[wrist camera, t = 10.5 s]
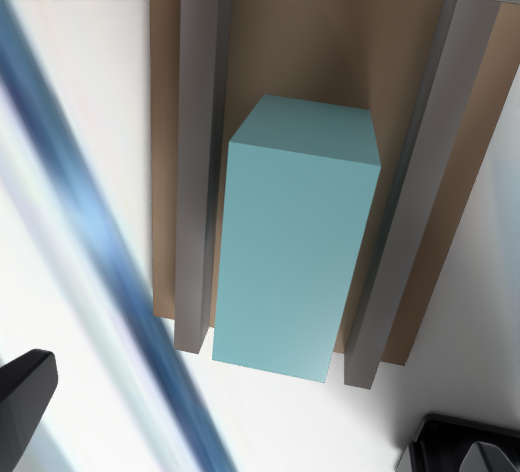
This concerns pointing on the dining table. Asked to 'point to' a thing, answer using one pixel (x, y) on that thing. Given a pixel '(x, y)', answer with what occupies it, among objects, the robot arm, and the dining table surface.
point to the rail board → (337, 93)
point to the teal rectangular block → (292, 233)
